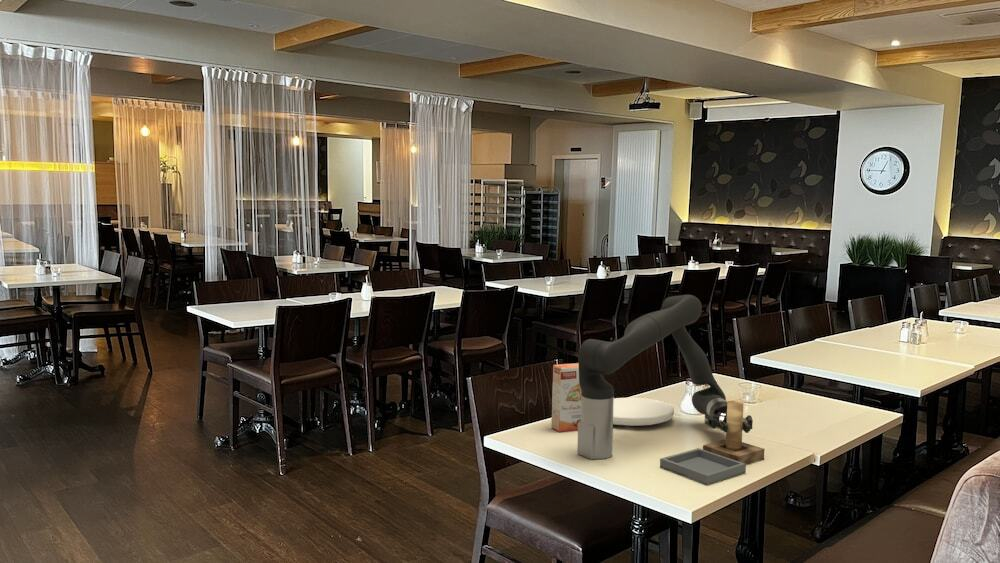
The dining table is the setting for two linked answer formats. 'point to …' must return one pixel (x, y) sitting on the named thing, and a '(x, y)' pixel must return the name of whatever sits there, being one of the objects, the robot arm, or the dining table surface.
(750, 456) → the socket block
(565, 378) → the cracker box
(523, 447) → the dining table surface
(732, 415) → the dowel
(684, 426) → the dining table surface
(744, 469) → the tray
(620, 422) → the plate
